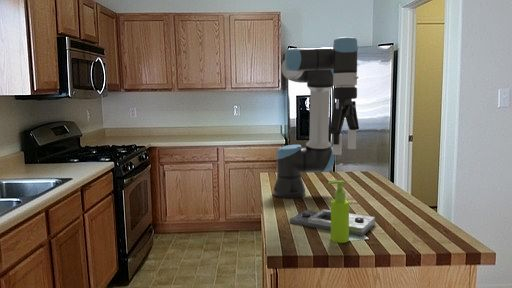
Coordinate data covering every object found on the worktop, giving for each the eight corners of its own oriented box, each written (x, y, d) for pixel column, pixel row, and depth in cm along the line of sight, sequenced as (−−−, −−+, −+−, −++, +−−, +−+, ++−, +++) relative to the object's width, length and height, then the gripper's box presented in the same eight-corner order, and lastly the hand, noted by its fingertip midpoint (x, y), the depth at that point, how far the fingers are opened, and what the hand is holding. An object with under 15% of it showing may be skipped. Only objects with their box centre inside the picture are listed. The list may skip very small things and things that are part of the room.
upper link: (307, 226, 148) (307, 216, 148) (323, 216, 160) (323, 207, 159) (362, 236, 137) (362, 226, 137) (374, 224, 148) (374, 215, 148)
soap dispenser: (325, 236, 138) (325, 179, 135) (345, 235, 138) (346, 178, 135) (330, 243, 132) (330, 183, 129) (351, 242, 132) (351, 182, 130)
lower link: (289, 222, 153) (289, 217, 152) (305, 213, 164) (305, 208, 163) (341, 232, 141) (341, 226, 141) (355, 221, 152) (355, 215, 152)
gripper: (342, 86, 118) (342, 158, 121) (368, 86, 139) (367, 147, 142) (318, 87, 122) (318, 156, 125) (347, 86, 143) (347, 146, 146)
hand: (344, 151), depth 134 cm, fingers open, 13 cm apart
